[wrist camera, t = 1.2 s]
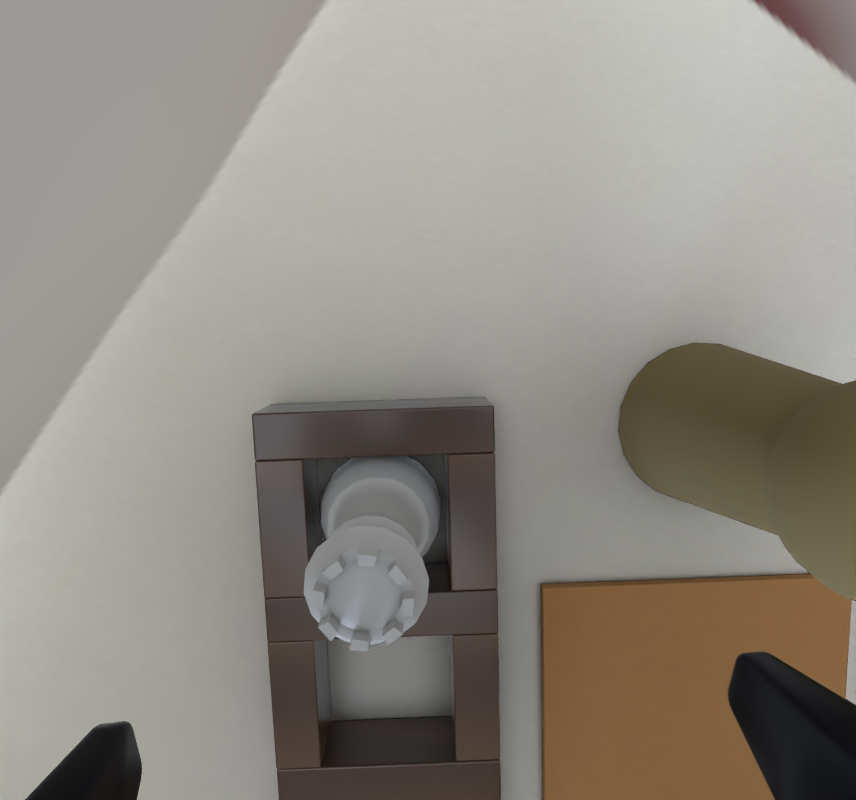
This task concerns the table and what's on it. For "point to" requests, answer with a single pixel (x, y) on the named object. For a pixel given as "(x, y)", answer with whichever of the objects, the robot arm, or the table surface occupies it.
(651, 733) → the cork mat
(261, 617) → the table surface
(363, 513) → the rook chess piece
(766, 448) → the pepper shaker
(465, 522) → the piece rack
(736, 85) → the table surface
